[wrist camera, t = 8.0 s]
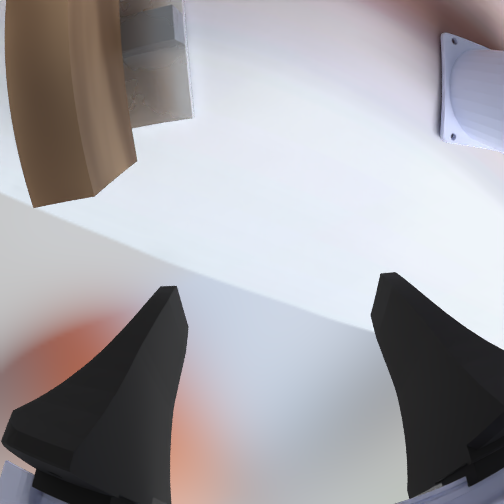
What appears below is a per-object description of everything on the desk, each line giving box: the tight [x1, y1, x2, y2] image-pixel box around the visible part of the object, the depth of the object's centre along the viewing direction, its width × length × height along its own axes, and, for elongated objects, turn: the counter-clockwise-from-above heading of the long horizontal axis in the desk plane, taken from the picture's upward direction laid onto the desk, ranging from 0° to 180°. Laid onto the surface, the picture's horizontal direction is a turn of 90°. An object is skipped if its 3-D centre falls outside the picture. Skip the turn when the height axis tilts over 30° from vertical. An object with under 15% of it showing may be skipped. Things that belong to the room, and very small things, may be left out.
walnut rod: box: [5, 0, 137, 208], centre depth 9 cm, size 4×14×5 cm, turn 4°
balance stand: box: [119, 0, 194, 128], centre depth 12 cm, size 9×11×3 cm
